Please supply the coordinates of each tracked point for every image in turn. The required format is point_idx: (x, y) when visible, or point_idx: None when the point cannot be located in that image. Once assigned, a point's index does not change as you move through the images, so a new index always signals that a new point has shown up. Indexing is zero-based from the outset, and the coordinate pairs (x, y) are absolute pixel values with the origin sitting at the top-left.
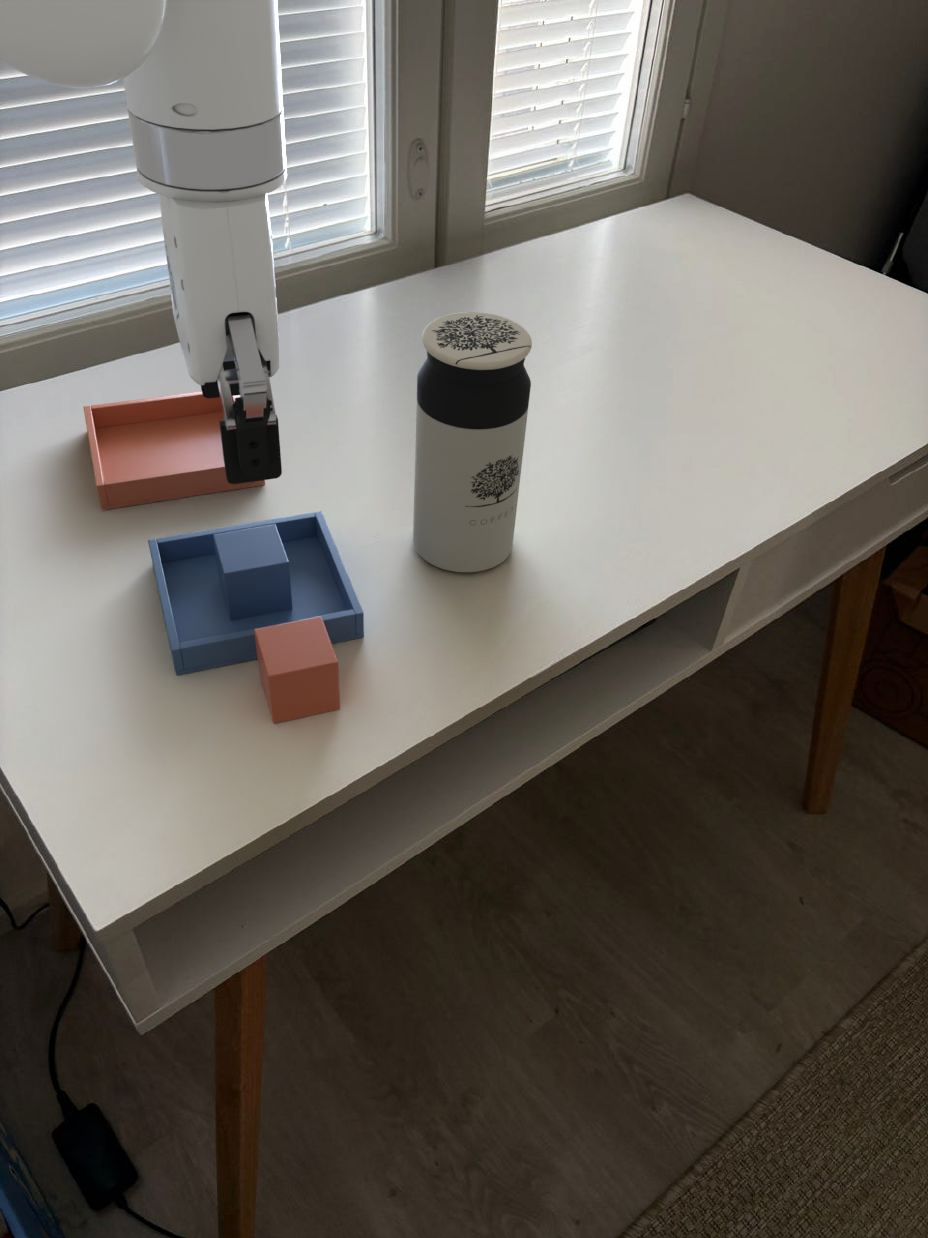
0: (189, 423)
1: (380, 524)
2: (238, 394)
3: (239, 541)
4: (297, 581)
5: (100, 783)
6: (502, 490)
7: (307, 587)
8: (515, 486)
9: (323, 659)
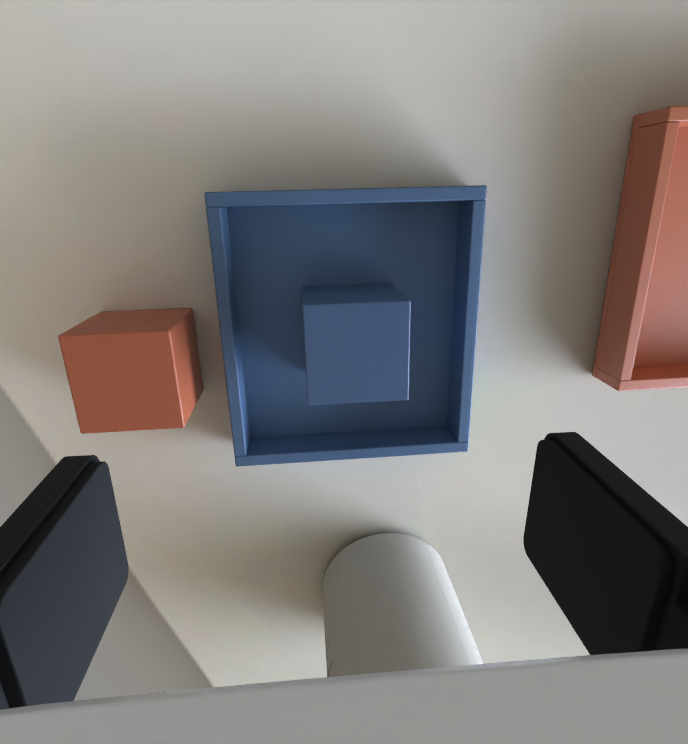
0: None
1: (451, 501)
2: (527, 518)
3: (378, 340)
4: None
5: (9, 52)
6: None
7: None
8: None
9: (88, 416)
